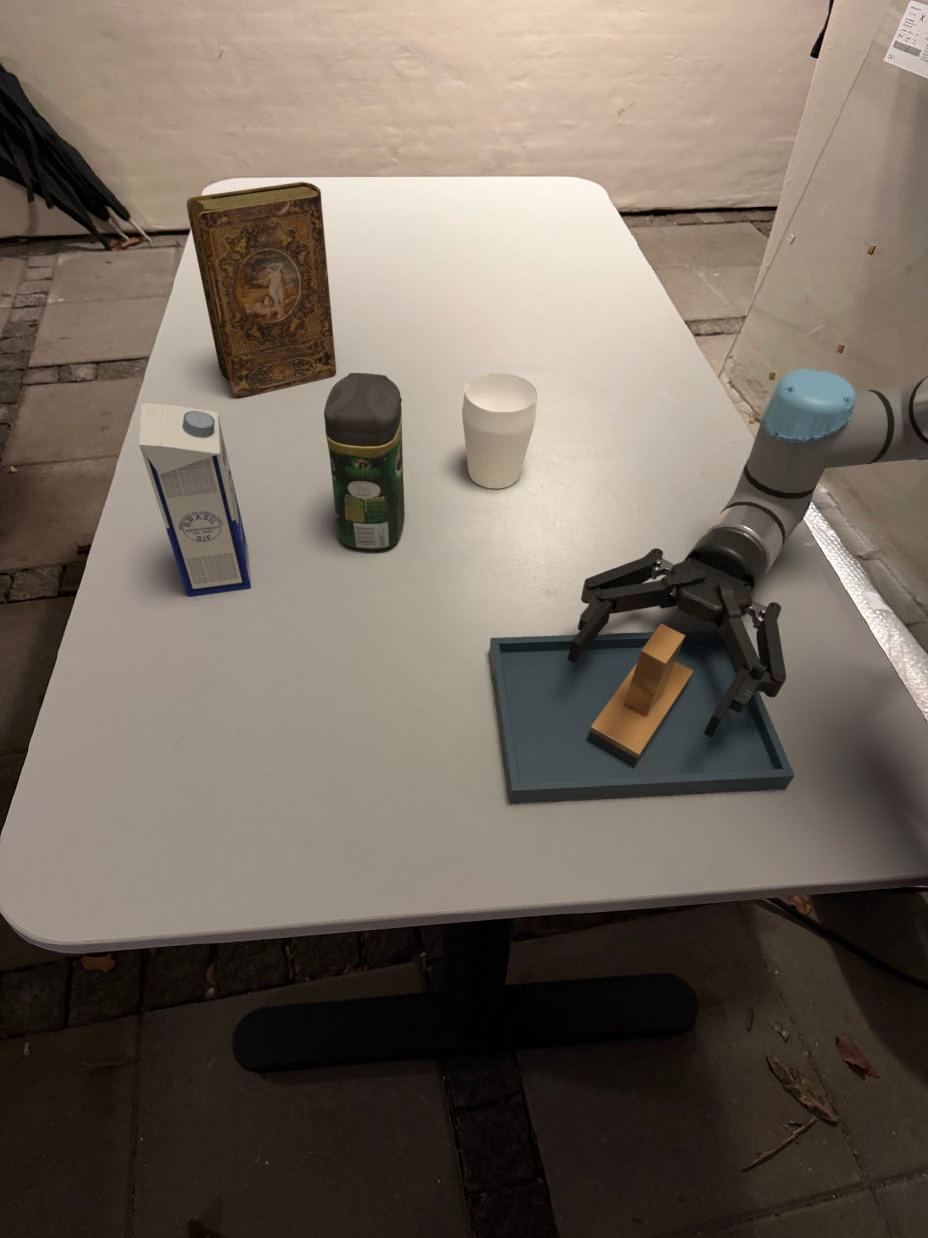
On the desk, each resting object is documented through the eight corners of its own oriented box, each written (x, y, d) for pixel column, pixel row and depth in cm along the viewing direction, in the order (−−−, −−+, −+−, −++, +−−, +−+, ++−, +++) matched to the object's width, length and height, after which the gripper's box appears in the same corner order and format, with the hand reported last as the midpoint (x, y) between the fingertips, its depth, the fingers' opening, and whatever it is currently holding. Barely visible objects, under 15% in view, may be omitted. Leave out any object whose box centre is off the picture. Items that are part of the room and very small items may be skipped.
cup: (538, 465, 103) (549, 383, 94) (512, 503, 97) (521, 421, 88) (476, 446, 105) (481, 365, 96) (447, 482, 99) (450, 400, 91)
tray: (786, 789, 71) (795, 775, 69) (509, 804, 69) (511, 790, 67) (726, 643, 83) (733, 629, 81) (489, 652, 81) (490, 637, 79)
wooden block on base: (688, 684, 78) (717, 615, 70) (634, 768, 71) (659, 701, 63) (643, 661, 79) (666, 591, 72) (586, 740, 73) (606, 672, 65)
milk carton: (187, 554, 88) (140, 399, 74) (247, 546, 90) (213, 393, 75) (187, 597, 84) (137, 442, 69) (251, 589, 85) (215, 435, 70)
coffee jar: (345, 499, 96) (332, 362, 83) (408, 503, 96) (406, 367, 82) (330, 551, 90) (314, 412, 76) (398, 556, 90) (394, 418, 76)
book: (327, 357, 119) (310, 180, 101) (341, 374, 116) (326, 194, 97) (222, 381, 113) (183, 197, 95) (233, 399, 110) (196, 213, 92)
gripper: (836, 636, 78) (761, 785, 66) (618, 535, 88) (517, 650, 75) (867, 584, 73) (792, 735, 61) (631, 482, 82) (524, 596, 70)
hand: (639, 688), depth 68 cm, fingers open, 13 cm apart
